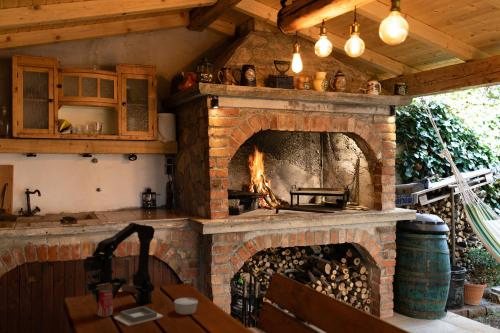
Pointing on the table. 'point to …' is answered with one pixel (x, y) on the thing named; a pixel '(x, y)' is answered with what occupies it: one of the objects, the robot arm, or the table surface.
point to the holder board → (137, 316)
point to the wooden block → (128, 277)
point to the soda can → (105, 302)
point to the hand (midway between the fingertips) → (105, 301)
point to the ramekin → (185, 305)
